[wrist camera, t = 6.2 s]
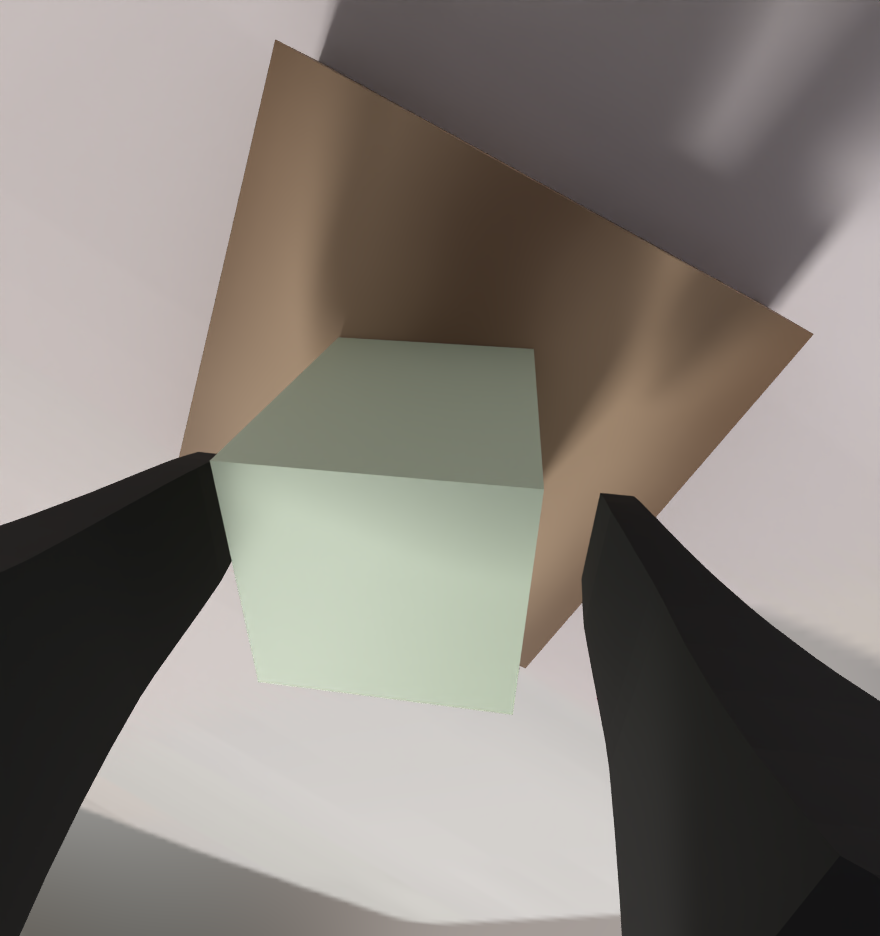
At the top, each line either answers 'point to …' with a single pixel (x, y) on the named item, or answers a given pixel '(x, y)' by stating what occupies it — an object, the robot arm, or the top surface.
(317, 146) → the walnut block
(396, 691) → the sage block
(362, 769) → the top surface
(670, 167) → the top surface
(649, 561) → the robot arm
